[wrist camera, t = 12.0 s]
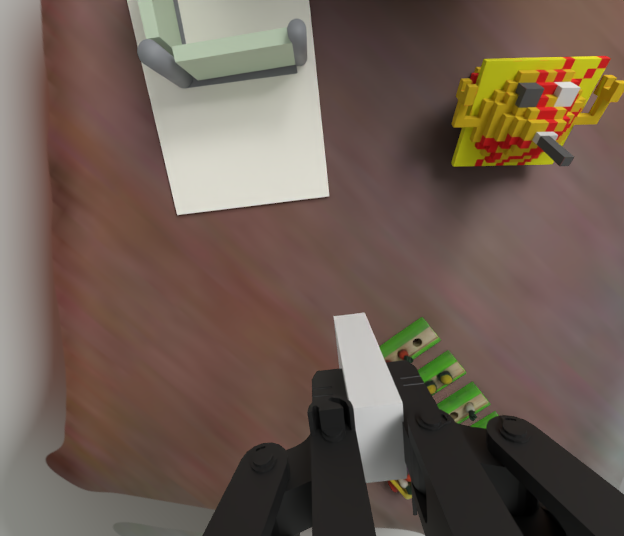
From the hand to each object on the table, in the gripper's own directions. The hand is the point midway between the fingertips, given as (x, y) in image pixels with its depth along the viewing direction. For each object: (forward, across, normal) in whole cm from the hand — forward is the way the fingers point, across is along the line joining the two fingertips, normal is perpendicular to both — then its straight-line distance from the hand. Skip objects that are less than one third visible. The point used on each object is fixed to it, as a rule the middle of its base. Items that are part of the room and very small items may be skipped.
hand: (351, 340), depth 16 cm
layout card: (+25, -8, +18) cm, 31 cm away
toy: (+25, +20, +11) cm, 34 cm away
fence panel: (+24, -6, +20) cm, 31 cm away
